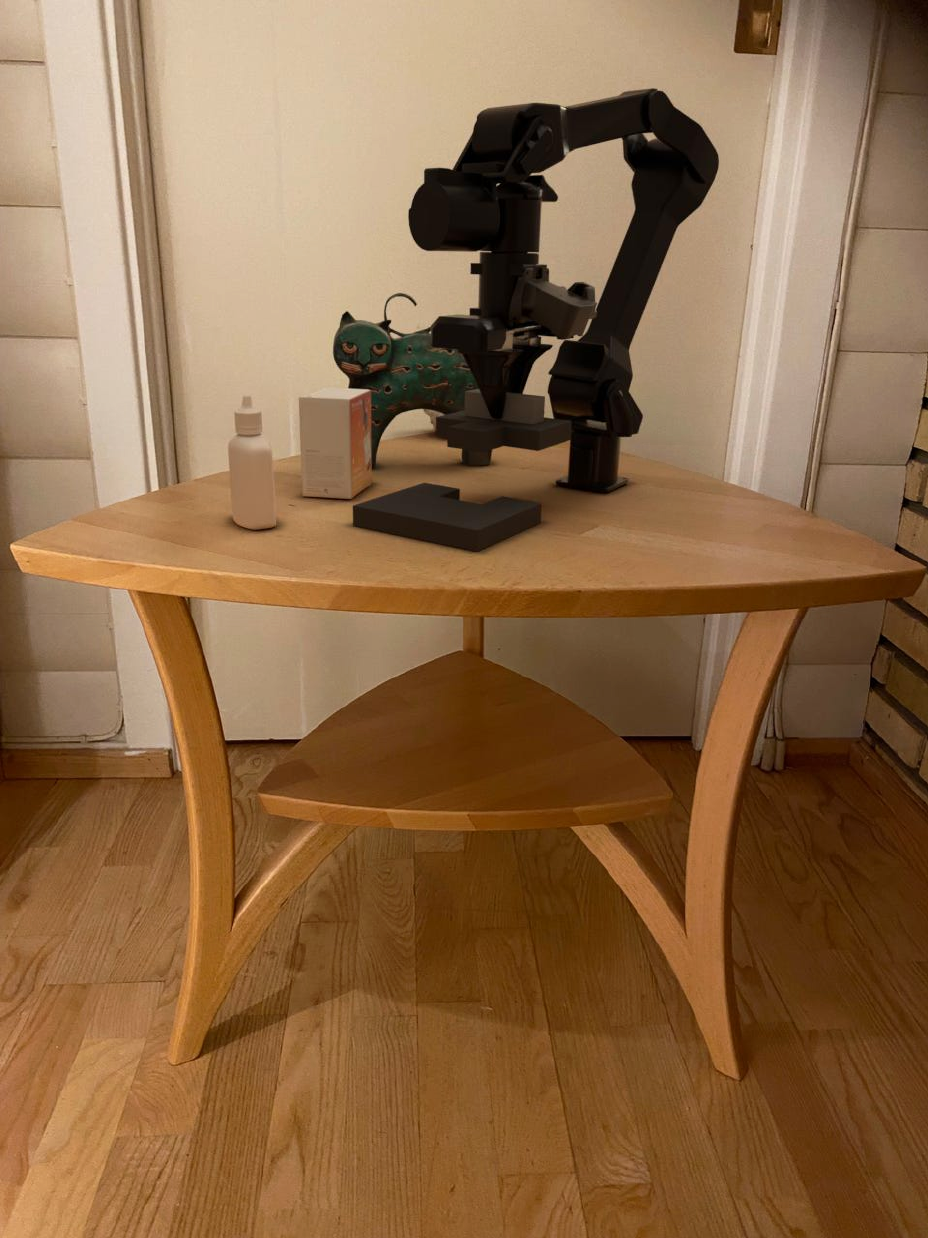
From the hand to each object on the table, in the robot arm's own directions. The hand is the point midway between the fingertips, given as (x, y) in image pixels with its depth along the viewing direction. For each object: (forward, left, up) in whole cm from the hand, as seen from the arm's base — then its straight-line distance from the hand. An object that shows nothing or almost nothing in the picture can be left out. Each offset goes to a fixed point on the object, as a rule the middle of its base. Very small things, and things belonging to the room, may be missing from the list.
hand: (503, 416), depth 98 cm
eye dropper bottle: (+21, -15, -9) cm, 27 cm away
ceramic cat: (-10, -18, -9) cm, 23 cm away
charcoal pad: (+10, 0, -9) cm, 13 cm away
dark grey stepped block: (+2, 0, -2) cm, 3 cm away
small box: (+6, -17, -9) cm, 20 cm away
